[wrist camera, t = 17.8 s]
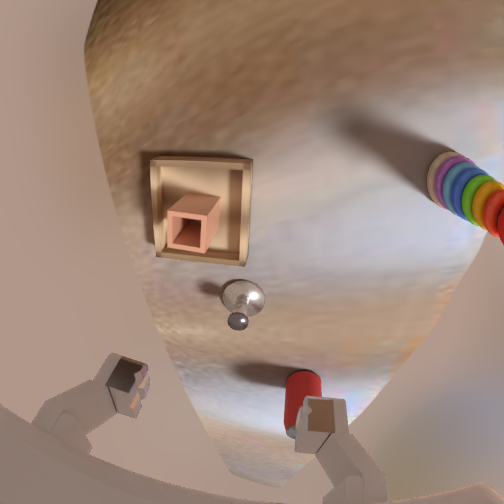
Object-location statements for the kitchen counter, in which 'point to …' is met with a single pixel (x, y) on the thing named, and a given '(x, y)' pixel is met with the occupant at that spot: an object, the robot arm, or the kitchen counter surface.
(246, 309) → the silver knob
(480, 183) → the stacking toy
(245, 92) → the kitchen counter surface
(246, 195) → the tray
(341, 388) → the kitchen counter surface
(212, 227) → the collar
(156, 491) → the robot arm
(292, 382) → the beer can
